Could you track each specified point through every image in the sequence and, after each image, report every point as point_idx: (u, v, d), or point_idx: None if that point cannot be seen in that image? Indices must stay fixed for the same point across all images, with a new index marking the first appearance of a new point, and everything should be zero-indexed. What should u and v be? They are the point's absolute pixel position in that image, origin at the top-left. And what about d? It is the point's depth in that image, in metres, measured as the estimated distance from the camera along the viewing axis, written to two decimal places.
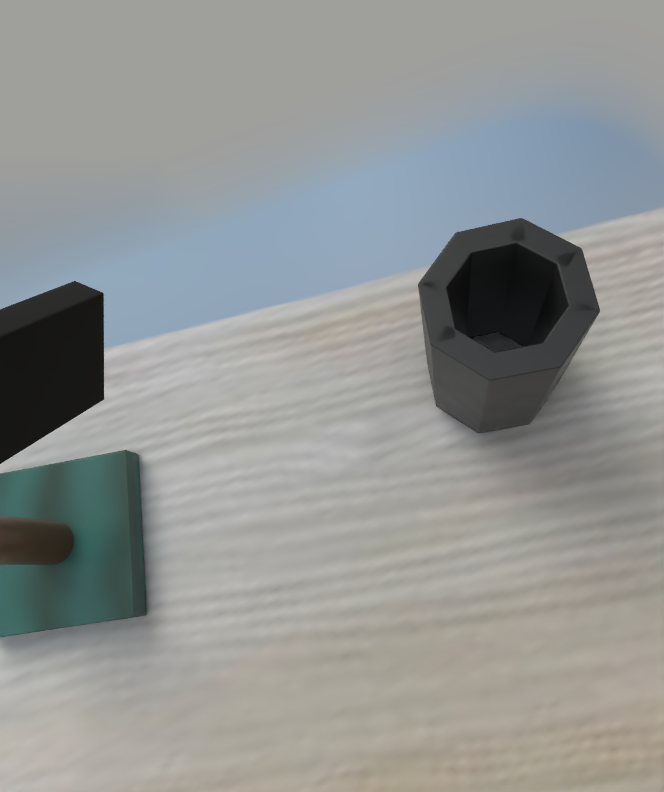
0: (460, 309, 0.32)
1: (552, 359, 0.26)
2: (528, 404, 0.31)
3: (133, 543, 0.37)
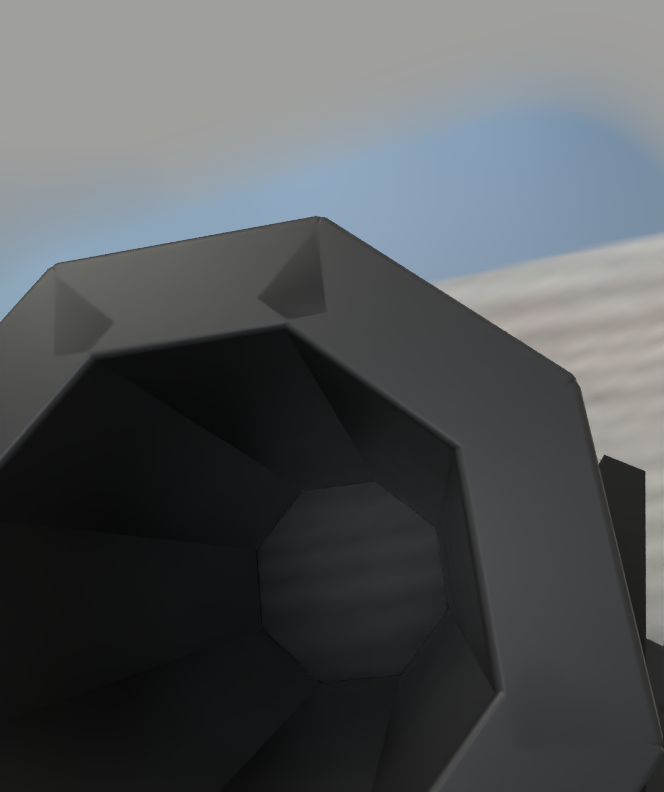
0: (209, 482, 0.11)
1: None
2: None
3: None
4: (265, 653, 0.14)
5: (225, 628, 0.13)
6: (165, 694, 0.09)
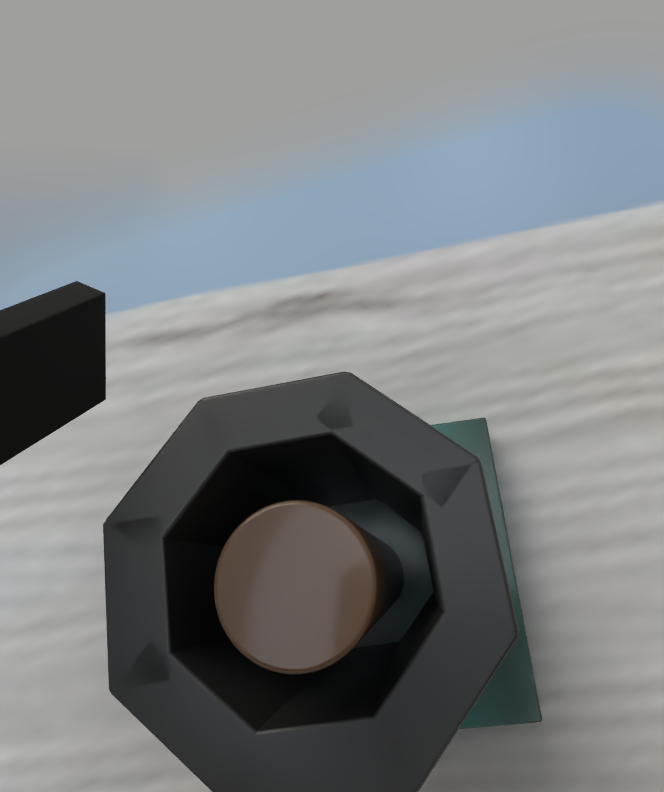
0: None
1: (394, 769, 0.10)
2: None
3: (515, 583, 0.21)
4: None
5: None
6: None
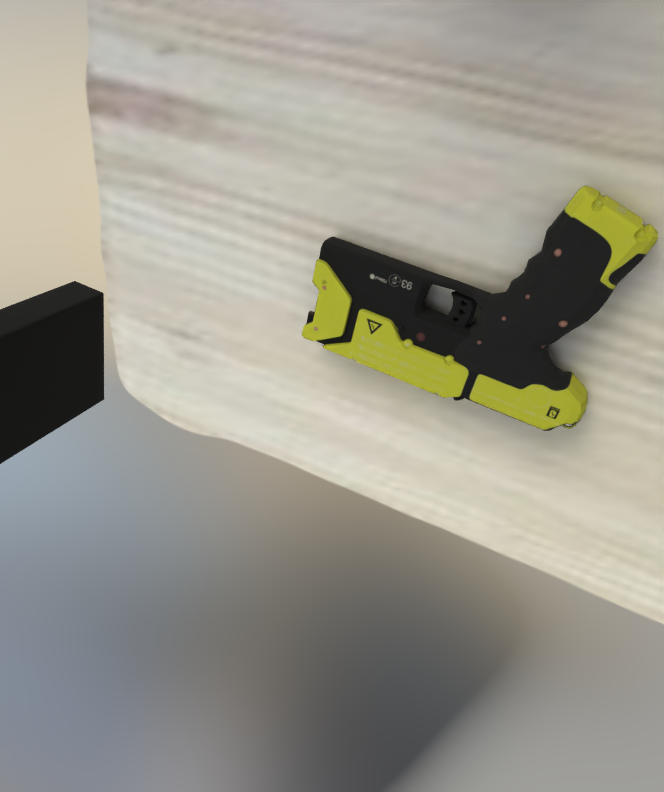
0: None
1: None
2: None
3: None
4: None
5: None
6: None
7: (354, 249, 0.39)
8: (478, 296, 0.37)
